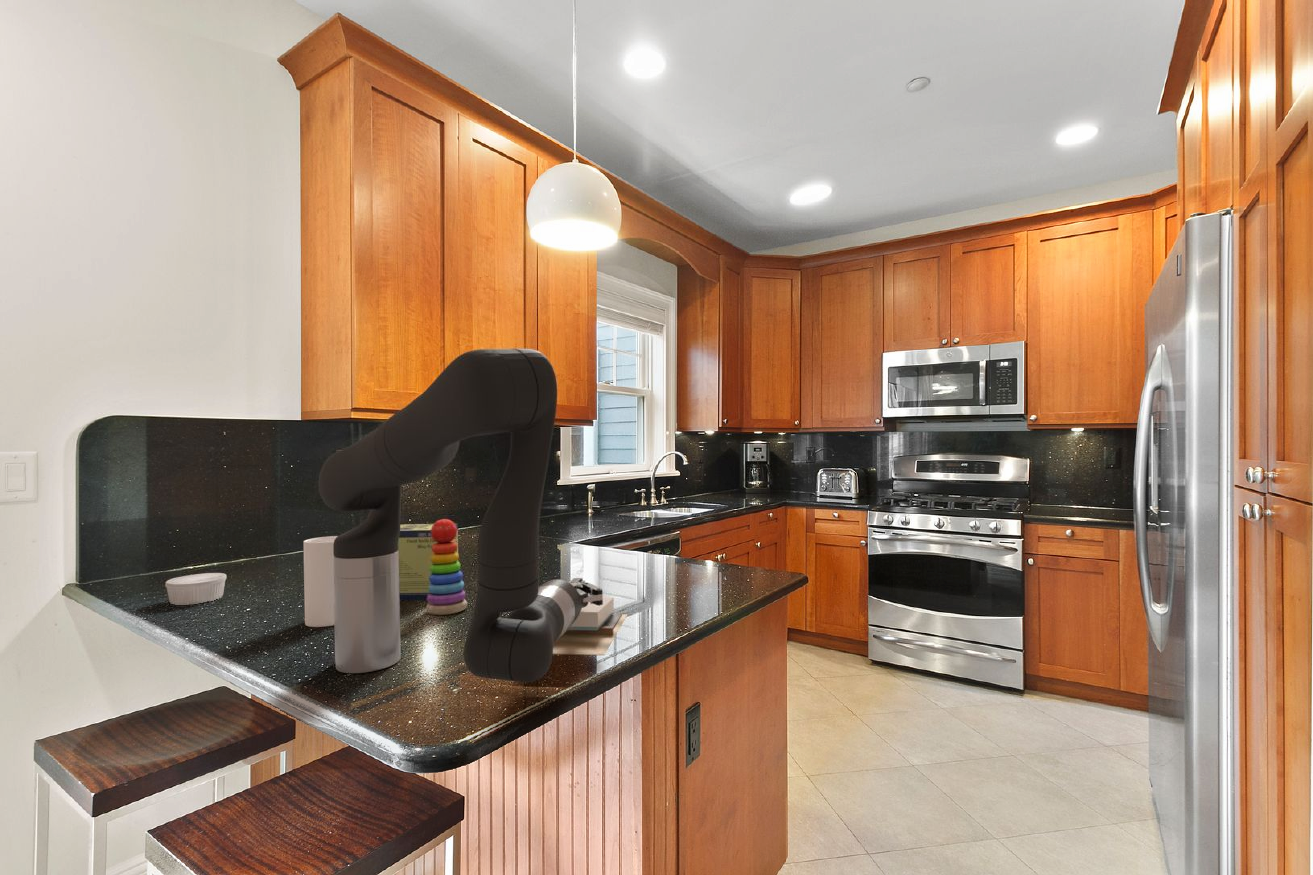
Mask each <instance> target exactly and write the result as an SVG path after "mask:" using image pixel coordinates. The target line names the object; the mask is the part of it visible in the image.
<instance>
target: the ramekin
mask: <svg viewBox="0 0 1313 875" xmlns="http://www.w3.org/2000/svg"><path fill="white" fill-rule="evenodd" d="M227 577H228V576H227V574H226V573H222V572H207V573H206V572H205V573H197V574H190V575H183V576H178V577H173V578H170V579H168V580H167V581H165V588H166V591H167V596H168V600H169V603H170V604H171V605H172V604H175V605H189V604H198V603H203V602H207V601H213V602H215V601H214V600H216V599H218V600H220V599H221V598H222V597H223V596H224V591H225V585H226V580H227ZM219 598H220V599H219ZM216 601H217V600H216ZM198 605H199V604H198Z"/></svg>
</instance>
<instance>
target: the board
mask: <svg viewBox="0 0 1313 875" xmlns="http://www.w3.org/2000/svg"><path fill="white" fill-rule="evenodd" d="M627 616H628V613H626V614H625V613H624V614H623V613H617V612H616V613H615V612H614V613H613V612H612V615H611V616H610V617H609V618H608V619H607V621H606V622H605V623H604V624H603V625H602V626H601V627H600V628H599V629H598V630H567V631H566V632H565V633H564V634H563V635H562V636H561V637H559V638H558V639H557V640H556V641H555V642H554V643H553V655H573V656H575V655H580V656H583V655H584V656H605V655H606V653H607V651H608V649H609V647H610V646H611V644H612V643H613V641H614V640H615V638H616V635H617V633H618V632H619V630H620V629H621V627H622V625H623V624H624V622H625V619H626V618H627Z"/></svg>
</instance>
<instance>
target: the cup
mask: <svg viewBox="0 0 1313 875" xmlns="http://www.w3.org/2000/svg"><path fill="white" fill-rule="evenodd" d="M338 536H339V535H331V536H321V537H320V536H319V537H313V538H309V539H305V540H303V580H304V581H303V583H304V584H303V586H304V587H303V588H304V592H303V594H304V625H305V626H307V627H310V628H311V627H312V628H320V627H321V628H323V627H330V626H334V604H335V598H334V554H333V544H334V540H335V539H336V538H337V537H338Z"/></svg>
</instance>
